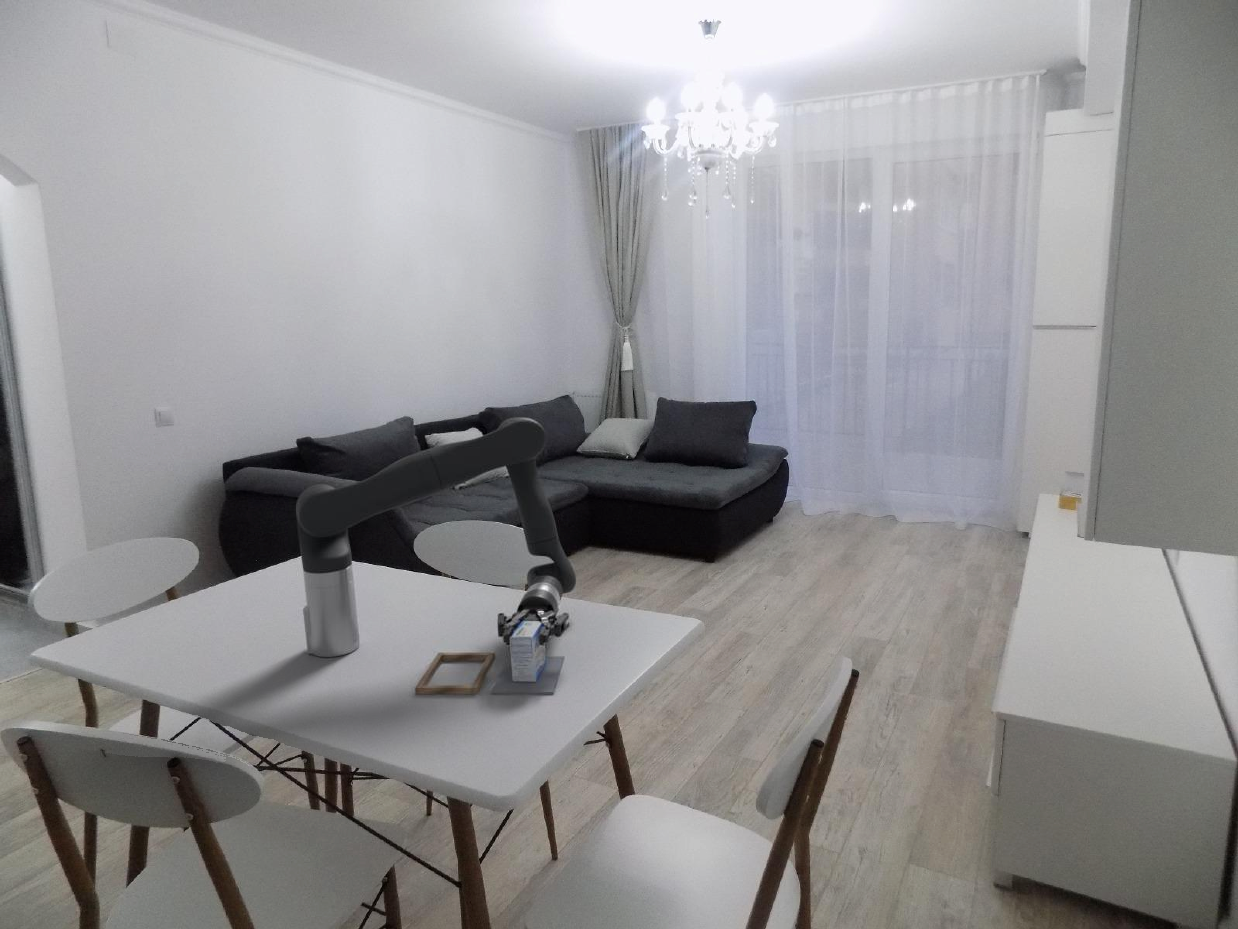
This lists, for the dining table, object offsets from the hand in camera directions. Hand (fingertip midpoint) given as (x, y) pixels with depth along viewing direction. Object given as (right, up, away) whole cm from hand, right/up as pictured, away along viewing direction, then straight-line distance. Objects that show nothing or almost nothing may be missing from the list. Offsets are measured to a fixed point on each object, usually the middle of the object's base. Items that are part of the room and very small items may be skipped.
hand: (524, 640), depth 148 cm
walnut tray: (-13, -8, +5) cm, 16 cm away
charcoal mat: (0, -7, +4) cm, 8 cm away
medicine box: (0, -7, +4) cm, 8 cm away
